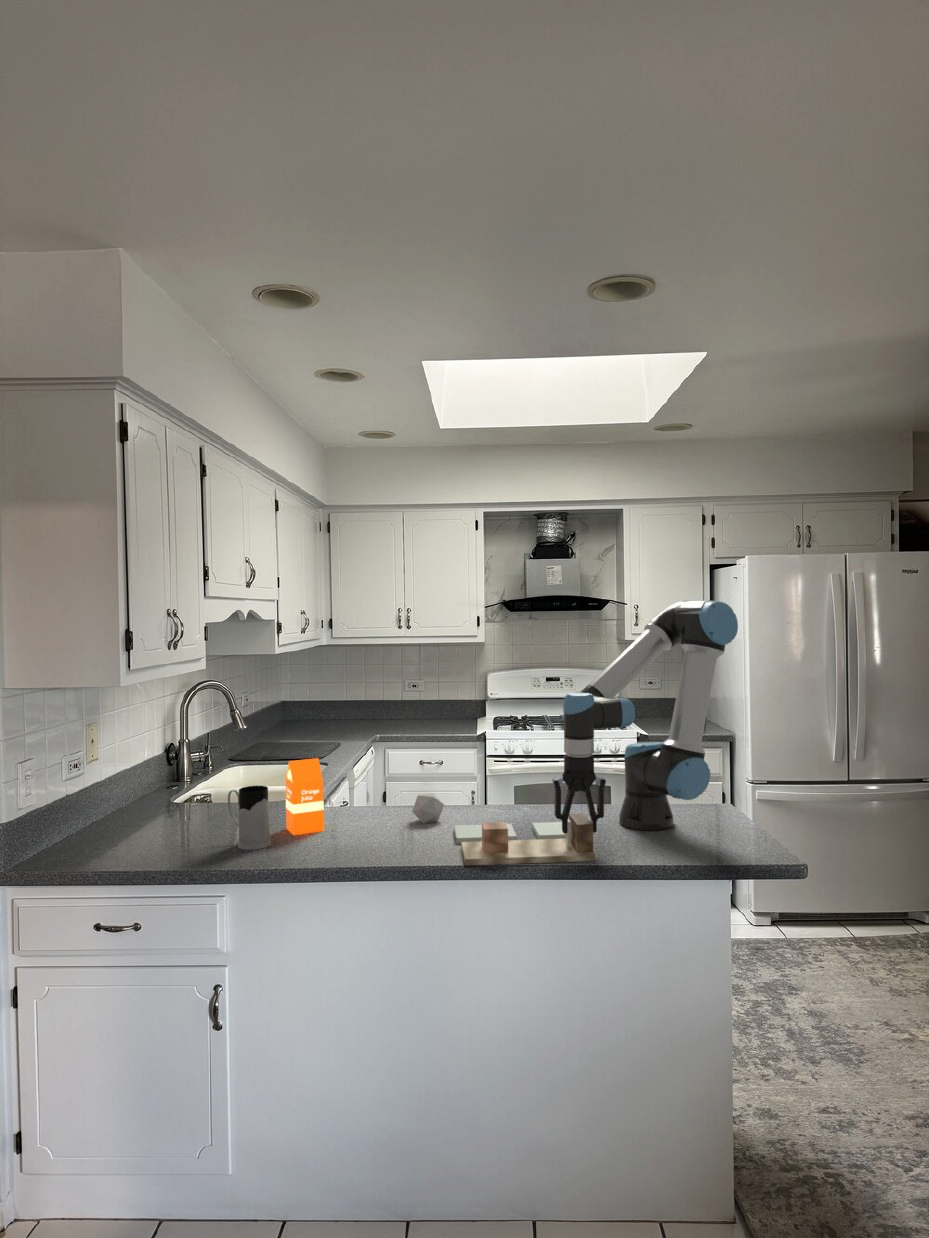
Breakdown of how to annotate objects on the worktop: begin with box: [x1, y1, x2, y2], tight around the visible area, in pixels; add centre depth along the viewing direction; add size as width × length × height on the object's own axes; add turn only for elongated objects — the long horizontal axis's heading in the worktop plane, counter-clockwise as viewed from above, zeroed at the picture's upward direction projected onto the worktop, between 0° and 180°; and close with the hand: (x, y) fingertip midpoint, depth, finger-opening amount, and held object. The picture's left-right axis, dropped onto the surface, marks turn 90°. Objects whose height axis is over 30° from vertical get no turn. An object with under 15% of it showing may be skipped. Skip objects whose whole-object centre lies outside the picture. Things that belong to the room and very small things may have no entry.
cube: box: [481, 821, 508, 853], centre depth 206 cm, size 6×6×6 cm
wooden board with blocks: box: [461, 813, 596, 866], centre depth 207 cm, size 32×14×8 cm, turn 94°
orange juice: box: [285, 757, 325, 836], centre depth 231 cm, size 8×9×20 cm
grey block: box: [411, 792, 445, 824], centre depth 239 cm, size 8×9×10 cm
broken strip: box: [453, 821, 566, 845], centre depth 224 cm, size 32×12×2 cm, turn 94°
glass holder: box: [227, 785, 272, 851], centre depth 220 cm, size 9×14×15 cm, turn 57°
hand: (579, 845), depth 208 cm, fingers closed on wooden board with blocks, 5 cm apart
